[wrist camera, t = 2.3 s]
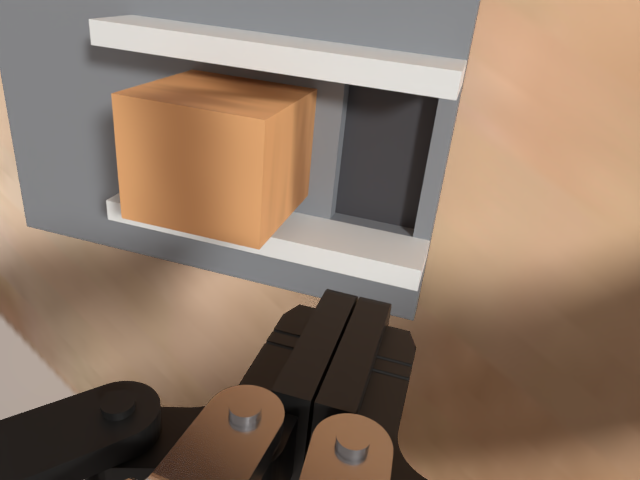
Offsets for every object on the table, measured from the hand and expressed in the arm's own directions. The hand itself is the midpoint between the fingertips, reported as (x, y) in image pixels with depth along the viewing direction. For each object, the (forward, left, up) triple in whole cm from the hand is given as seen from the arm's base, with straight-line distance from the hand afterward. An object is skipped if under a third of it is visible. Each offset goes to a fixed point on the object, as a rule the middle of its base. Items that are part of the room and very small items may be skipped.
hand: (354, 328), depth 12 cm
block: (+8, 0, -13) cm, 15 cm away
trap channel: (+10, 0, -14) cm, 17 cm away
